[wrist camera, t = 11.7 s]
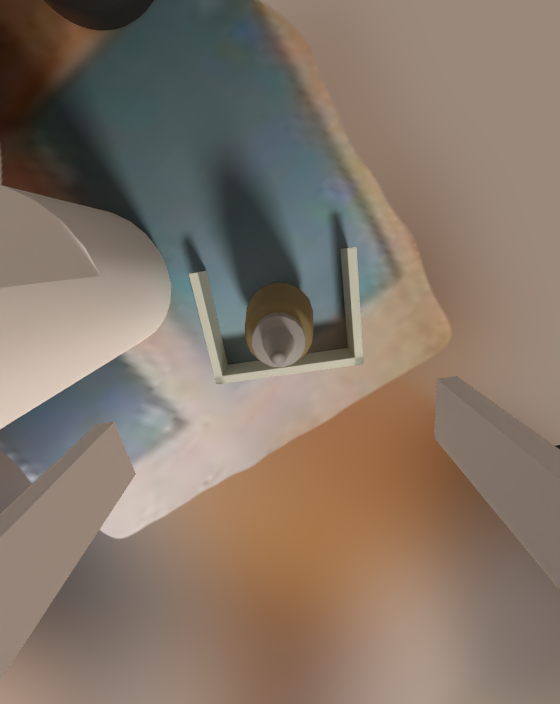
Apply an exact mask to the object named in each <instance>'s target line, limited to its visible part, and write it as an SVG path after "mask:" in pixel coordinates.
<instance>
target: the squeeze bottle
mask: <svg viewBox="0 0 560 704" xmlns="http://www.w3.org/2000/svg"><path fill="white" fill-rule="evenodd" d="M312 340H313V310H312V307H311V304H310V301H309V299H308V297H307V296H306V295H305V294H304V293H303V292H302V291H301V289H299V288H297V287H295V286H293V285H291V284H289V283H275V282H274V283H272V284H269V285H266V286H263V287H261V288H260V289H259V290H258V291H257V292H256V293H255V294H254V295H253V296H252V298H251V300H250V302H249V305H248V307H247V312H246V321H245V341H246V343H247V345H248V348H249V350H250V352H251V353H252V354H253V355H254V356H255V357H256V358H257V359H258V360H259V361H261V362H262V363H264V364H267V365H269V366H271V367H285V366H289V365H292V364H293V363H295V362H297V361H298V360H299V359H301V358H302V357H303V356H304V355H305V354H306V353H307V351H308V349H309V348H310V346H311V344H312Z"/></svg>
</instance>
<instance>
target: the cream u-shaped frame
mask: <svg viewBox="0 0 560 704" xmlns="http://www.w3.org/2000/svg"><path fill="white" fill-rule="evenodd" d="M340 253H341V266H342V279H343V292H344V305H345V318H346V330H347V343H348V348H342V349H335V350H328V351H321V352H314V353H307V354H305V355H304V356H303V357H302V358H301V359H299V360H298V361H297V362H295V363H293V364H292V365H289V366H285V367H271V366H269V365H267V364H264V363H262V362H261V361H259V360H258V361H250V362H243V363H236V364H229V365H228V362H227V358H226V354H225V349H224V345H223V341H222V336H221V332H220V327H219V323H218V319H217V314H216V310H215V306H214V301H213V297H212V293H211V288H210V284H209V280H208V275H207V271H201V272H196V273H191V274H189V276H190V280H191V284H192V288H193V292H194V296H195V300H196V304H197V308H198V312H199V316H200V320H201V324H202V328H203V332H204V336H205V340H206V344H207V348H208V352H209V356H210V360H211V364H212V368H213V372H214V376H215V380H216V384H222V383H229V382H236V381H243V380H251V379H258V378H265V377H272V376H280V375H287V374H294V373H302V372H309V371H316V370H323V369H331V368H338V367H345V366H352V365H360V364H363V349H362V332H361V316H360V299H359V282H358V265H357V249H356V247H351V248H344V249H340Z"/></svg>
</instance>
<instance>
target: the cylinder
mask: <svg viewBox="0 0 560 704" xmlns="http://www.w3.org/2000/svg"><path fill="white" fill-rule="evenodd" d="M170 297H171V284H170V279H169V274H168V269H167V267H166V264H165V262H164V260H163V258H162V256H161V254H160V252H159V250H158V249H157V247H156V246H155V245H154V244H153V242H152V241H151V240H150V238H149V237H148V236H147V235H146V234H145V233H144V232H143V231H142V230H140V229H139V228H138V227H137V226H135V225H134V224H133V223H132V222H130V221H128V220H126V219H124V218H122V217H120V216H118V215H116V214H114V213H112V212H108V211H104V210H100V209H96V208H92V207H88V206H84V205H79V204H75V203H71V202H67V201H63V200H59V199H55V198H51V197H47V196H43V195H39V194H35V193H31V192H27V191H23V190H19V189H15V188H11V187H7V186H3V185H0V429H1V428H3V427H4V426H6V425H7V424H9V423H11V422H12V421H14V420H15V419H17V418H19V417H20V416H22V415H24V414H25V413H27V412H28V411H30V410H32V409H33V408H35V407H37V406H38V405H40V404H41V403H43V402H45V401H46V400H48V399H49V398H51V397H53V396H54V395H56V394H58V393H59V392H61V391H62V390H64V389H66V388H67V387H69V386H70V385H72V384H74V383H75V382H77V381H79V380H80V379H82V378H83V377H85V376H87V375H88V374H90V373H92V372H93V371H95V370H96V369H98V368H100V367H101V366H103V365H104V364H106V363H108V362H109V361H111V360H113V359H114V358H116V357H117V356H119V355H121V354H122V353H124V352H125V351H127V350H129V349H130V348H132V347H134V346H135V345H137V344H138V343H140V342H142V341H143V340H145V339H146V338H147V337H149V336H150V335H151V334H153V333H154V332H155V331H156V330H157V329H158V328H159V326H160V325H161V323H162V322H163V321H164V319H165V317H166V314H167V311H168V308H169V305H170Z"/></svg>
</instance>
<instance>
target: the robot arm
mask: <svg viewBox="0 0 560 704" xmlns="http://www.w3.org/2000/svg"><path fill="white" fill-rule="evenodd" d="M44 1H45V2H46V3H47V4H48V5H49V6H50V7H52V8H53V9H54V10H55V11H56V12H57V13H59V14H60V15H62V16H63V17H64V18H66V19H68V20H69V21H71V22H73V23H75V24H77V25H80V26H82V27H86V28H89V29H94V30H112V29H117V28H121V27H123V26H126V25H128V24H130V23H131V22H133V21H135V20H136V19H137V18H139V17H140V16H141V15H142V14H143V13H144V12H145V11H146V10H147V9H148V7H149V6H150V5H151V3H152V2H153V0H44ZM435 439H436V440H437V441H438V443H439V444H440V445H441V446H442V448H443V449H444V450H445V451H446V452H447V454H448V455H449V456H450V457H451V458H452V460H453V461H454V462H455V463H456V465H457V466H458V467H459V468H460V469H461V471H462V472H463V473H464V474H465V476H466V477H467V478H468V479H469V480H470V482H471V483H472V484H473V485H474V487H475V488H476V489H477V490H478V491H479V493H480V494H481V495H482V496H483V498H484V499H485V500H486V501H487V502H488V503H489V505H490V506H491V507H492V508H493V510H494V511H495V512H496V513H497V514H498V516H499V517H500V518H501V519H502V520H503V522H504V523H505V524H506V526H507V527H508V528H509V529H510V530H511V532H512V533H513V534H514V535H515V536H516V538H517V539H518V540H519V541H520V543H521V544H522V545H523V546H524V547H525V549H526V550H527V551H528V552H529V554H530V555H531V556H532V557H533V558H534V560H535V561H536V562H537V563H538V565H539V566H540V567H541V568H542V569H543V570H544V572H545V573H546V574H547V575H548V577H549V578H550V579H551V580H552V582H553V583H554V584H555V585H556V586H557V587H558V589H559V590H560V445H557V446H554V445H552V444H551V443H550V442H548V441H547V440H546V439H544V438H543V437H541V436H540V435H539V434H537V433H536V432H534V431H533V430H532V429H530V428H529V427H527V426H526V425H524V424H523V423H522V422H520V421H519V420H518V419H516V418H515V417H513V416H512V415H511V414H509V413H508V412H506V411H505V410H503V409H502V408H500V407H499V406H498V405H497V404H495V403H494V402H492V401H491V400H489V399H488V398H487V397H485V396H484V395H482V394H481V393H480V392H478V391H477V390H475V389H474V388H473V387H471V386H469V385H468V384H467V383H466V382H464V381H463V380H461V379H460V378H459V377H457V376H456V377H448V378H441V379H437V386H436V414H435ZM135 474H136V473H135V471H134V469H133V466H132V464H131V461H130V459H129V456H128V454H127V452H126V449H125V447H124V444H123V442H122V439H121V437H120V434H119V432H118V430H117V427H116V425H115V422H109V423H101V424H96V425H95V426H94V427H93V428H92V429H91V430H90V431H89V432H88V433H87V434H86V435H84V436H83V437H82V438H81V439H80V440H79V441H78V442H77V443H76V444H75V445H74V446H73V447H72V448H71V449H69V450H68V451H67V452H66V453H65V454H64V455H63V456H62V457H61V458H60V459H59V460H58V461H57V462H56V463H54V464H53V465H52V466H51V467H50V468H49V469H48V470H47V471H46V472H45V473H44V474H43V475H42V476H41V477H39V478H38V479H37V480H36V481H35V482H34V483H33V484H32V485H31V486H30V487H29V488H28V489H27V490H26V491H25V492H23V493H22V494H21V495H20V496H19V497H18V498H17V499H16V500H15V501H14V502H13V503H12V504H11V505H9V506H8V507H7V508H6V509H5V510H4V511H3V512H2V513H1V514H0V680H1V678H2V677H3V675H4V674H5V672H6V671H7V669H8V668H9V666H10V665H11V663H12V662H13V660H14V659H15V657H16V655H17V654H18V653H19V651H20V649H21V648H22V646H23V645H24V643H25V642H26V640H27V639H28V637H29V636H30V634H31V633H32V631H33V630H34V628H35V627H36V625H37V624H38V622H39V620H40V619H41V618H42V616H43V614H44V613H45V611H46V610H47V608H48V607H49V605H50V604H51V602H52V600H53V599H54V597H55V596H56V595H57V593H58V592H59V590H60V589H61V587H62V585H63V584H64V582H65V581H66V579H67V578H68V576H69V575H70V573H71V572H72V570H73V569H74V567H75V566H76V564H77V562H78V561H79V560H80V558H81V556H82V555H83V554H84V552H85V550H86V549H87V547H88V546H89V544H90V543H91V541H92V540H93V538H94V537H95V535H96V533H97V532H98V531H99V529H100V528H101V526H102V525H103V523H104V521H105V520H106V518H107V517H108V515H109V514H110V512H111V511H112V509H113V508H114V506H115V505H116V503H117V502H118V500H119V499H120V497H121V496H122V494H123V493H124V491H125V489H126V488H127V486H128V485H129V483H130V482H131V480H132V479H133V477H134V476H135Z"/></svg>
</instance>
